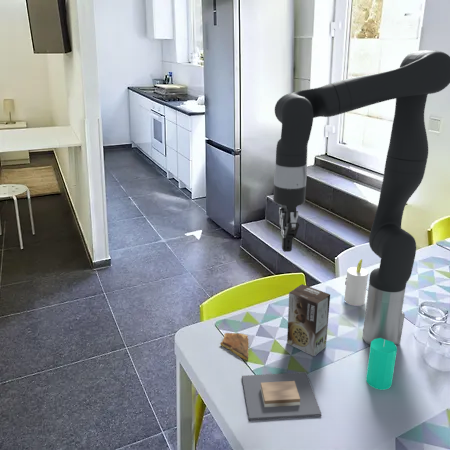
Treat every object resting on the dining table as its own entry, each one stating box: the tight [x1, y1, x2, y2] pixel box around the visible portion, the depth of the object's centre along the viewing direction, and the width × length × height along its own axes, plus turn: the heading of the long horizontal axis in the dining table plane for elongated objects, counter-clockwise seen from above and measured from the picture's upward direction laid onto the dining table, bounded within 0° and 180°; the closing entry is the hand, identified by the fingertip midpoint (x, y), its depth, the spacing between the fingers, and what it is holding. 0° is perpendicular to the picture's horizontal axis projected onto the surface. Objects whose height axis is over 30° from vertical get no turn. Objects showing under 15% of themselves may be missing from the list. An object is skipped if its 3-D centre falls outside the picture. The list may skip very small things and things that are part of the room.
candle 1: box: [343, 259, 369, 307], centre depth 146 cm, size 6×6×15 cm
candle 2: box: [365, 338, 398, 391], centre depth 111 cm, size 6×6×12 cm
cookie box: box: [286, 283, 331, 357], centre depth 124 cm, size 9×6×16 cm
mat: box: [241, 371, 322, 421], centre depth 108 cm, size 16×14×1 cm
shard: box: [220, 332, 250, 361], centre depth 125 cm, size 11×8×2 cm
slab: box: [261, 381, 300, 407], centre depth 107 cm, size 8×2×6 cm
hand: (286, 250), depth 115 cm, fingers closed
